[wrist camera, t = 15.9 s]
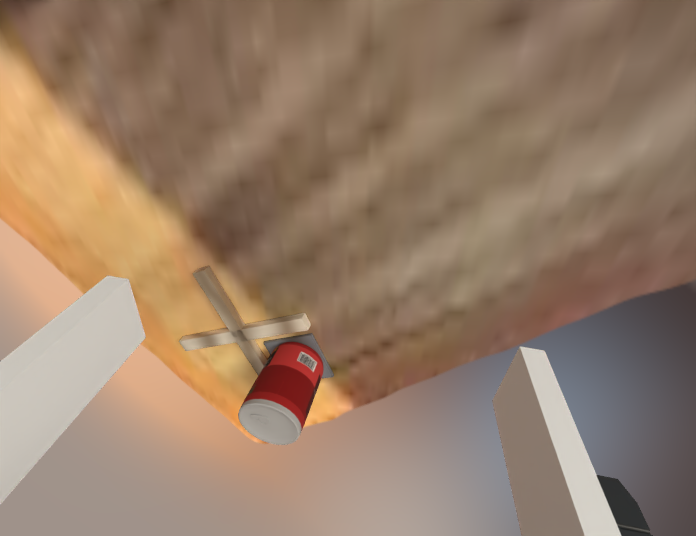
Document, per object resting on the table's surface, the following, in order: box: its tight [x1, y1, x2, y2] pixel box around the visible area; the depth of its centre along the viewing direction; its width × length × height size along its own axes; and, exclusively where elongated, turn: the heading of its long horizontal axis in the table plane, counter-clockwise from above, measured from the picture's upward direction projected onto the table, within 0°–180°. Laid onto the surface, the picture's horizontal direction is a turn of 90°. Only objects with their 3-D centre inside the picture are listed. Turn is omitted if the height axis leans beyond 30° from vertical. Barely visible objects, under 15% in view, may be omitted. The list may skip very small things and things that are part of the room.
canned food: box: [238, 342, 323, 445], centre depth 48 cm, size 8×8×11 cm
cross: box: [179, 266, 334, 378], centre depth 53 cm, size 22×22×1 cm
